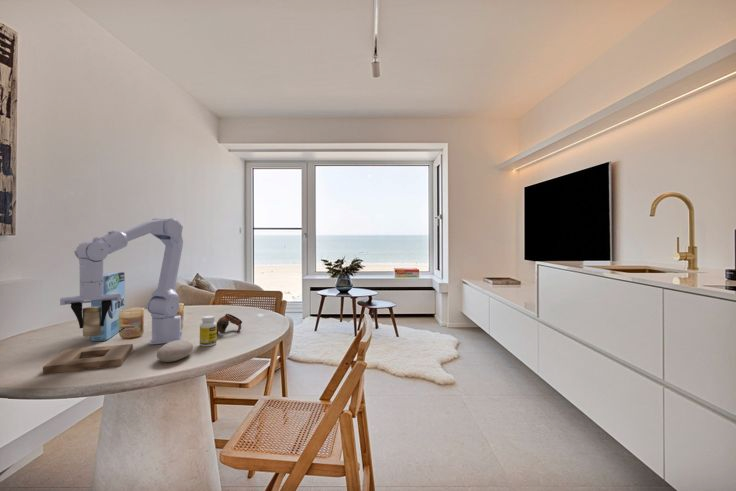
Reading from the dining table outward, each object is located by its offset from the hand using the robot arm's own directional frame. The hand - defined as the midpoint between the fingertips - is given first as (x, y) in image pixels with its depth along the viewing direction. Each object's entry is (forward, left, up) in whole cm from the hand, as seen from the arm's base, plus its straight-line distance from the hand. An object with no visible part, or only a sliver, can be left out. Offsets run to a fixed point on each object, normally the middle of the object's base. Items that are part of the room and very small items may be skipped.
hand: (92, 326), depth 110 cm
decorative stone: (-23, +6, -11) cm, 26 cm away
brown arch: (-38, -21, -11) cm, 45 cm away
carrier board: (0, 0, -10) cm, 10 cm away
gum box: (+3, -33, -11) cm, 35 cm away
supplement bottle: (-32, -6, -11) cm, 34 cm away
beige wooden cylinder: (0, 0, -2) cm, 2 cm away
